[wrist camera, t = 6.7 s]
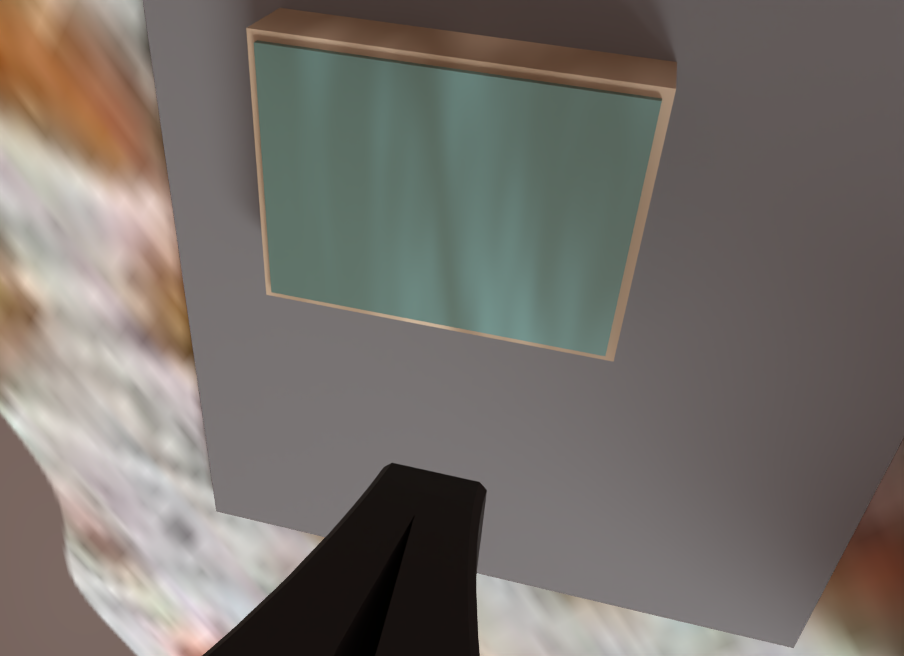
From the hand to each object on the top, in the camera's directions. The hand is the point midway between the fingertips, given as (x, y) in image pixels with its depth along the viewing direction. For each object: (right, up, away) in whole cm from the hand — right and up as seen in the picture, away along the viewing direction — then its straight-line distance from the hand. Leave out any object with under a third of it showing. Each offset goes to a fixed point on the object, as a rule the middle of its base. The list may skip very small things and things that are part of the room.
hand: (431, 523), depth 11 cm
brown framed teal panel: (+4, +5, +5) cm, 8 cm away
